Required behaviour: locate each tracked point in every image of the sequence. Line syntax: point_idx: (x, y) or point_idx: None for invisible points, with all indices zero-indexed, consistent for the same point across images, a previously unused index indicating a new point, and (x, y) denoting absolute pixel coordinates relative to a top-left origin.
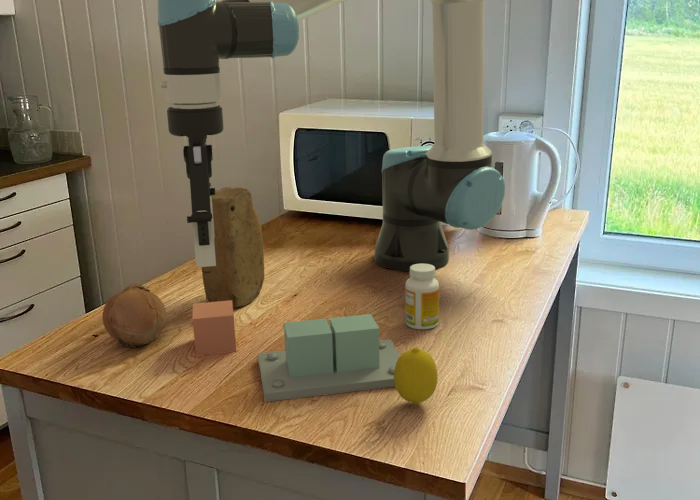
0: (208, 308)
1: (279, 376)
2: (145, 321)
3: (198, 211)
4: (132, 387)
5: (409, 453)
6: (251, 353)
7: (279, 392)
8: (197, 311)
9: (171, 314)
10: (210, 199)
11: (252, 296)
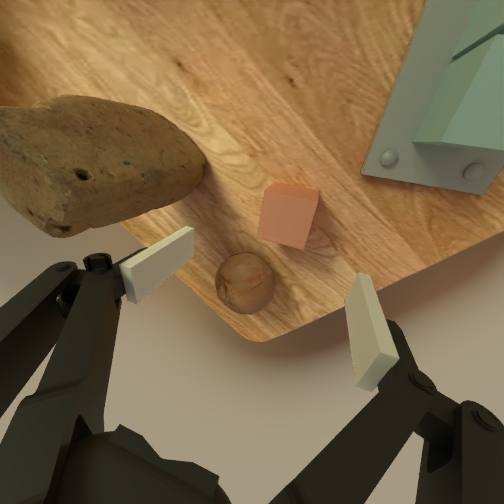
0: (279, 225)
1: (451, 163)
2: (272, 283)
3: (159, 278)
4: (341, 291)
5: None
6: (334, 175)
7: (496, 175)
8: (283, 239)
9: (203, 231)
10: (135, 268)
11: (188, 138)
